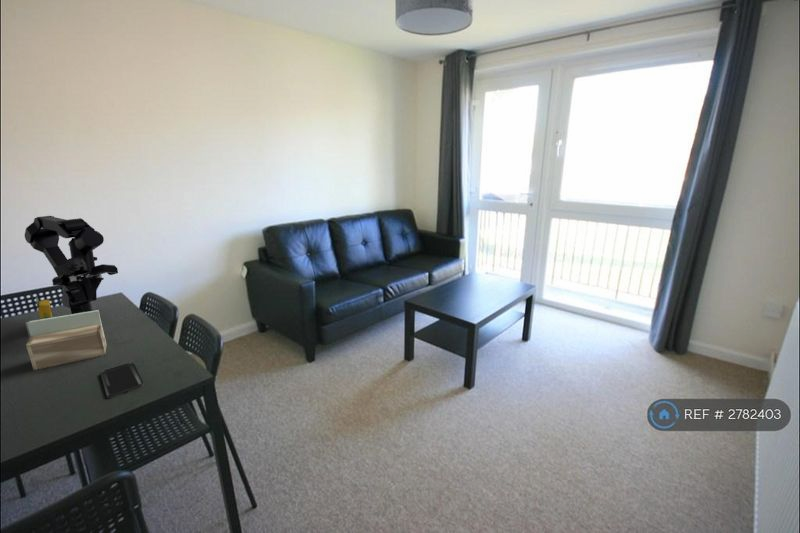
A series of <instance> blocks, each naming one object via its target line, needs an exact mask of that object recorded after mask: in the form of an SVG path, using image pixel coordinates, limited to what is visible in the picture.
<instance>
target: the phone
mask: <svg viewBox="0 0 800 533" xmlns="http://www.w3.org/2000/svg"><path fill="white" fill-rule="evenodd" d="M99 373H100V378H101V382H102V385H103V388H104V391H105V394H106V397H107V399H113V398H116V397H119V396H122V395H125V394H127V393H132V392H133V391H137V390H139V389H142V388H144V381H143V380H142V377H141V375H140V373H139V371H138V368H137V366H136V365H135V363H134V362H128V363H124V364H122V365H121V364H120V365H118V366H115V367H111V368H108V369H105V370H102V371H101V372H99Z"/></svg>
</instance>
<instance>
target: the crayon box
mask: <svg viewBox="0 0 800 533" xmlns="http://www.w3.org/2000/svg"><path fill="white" fill-rule="evenodd" d="M35 304H36V308H37V310H38V314H39V320H40V319H46V318H52V317H54V313H53V308H52V306H51V302H50V299H43V300H39V298H38V296H36V298H35Z"/></svg>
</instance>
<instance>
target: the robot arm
mask: <svg viewBox="0 0 800 533" xmlns="http://www.w3.org/2000/svg"><path fill="white" fill-rule="evenodd" d="M60 237H61V238H63V239H70V241H68V247H69V251H70V258H67V256H66V255H65V254H64V252H63V251H62V249H61V248H60V246H59V241H60ZM24 239H25V241H26V243H27V244H30V246H31V247H32V248H33V249H34V250H36V251H38V252H40V253H43V254H44V256H45V258H46V259H47V260H48V262H49V263H50V265H51V266H52V268H53V270H54V272H55V274H56V275H57V276H55V277H53V278H52V279H51V280H52V281H51V282H52V286H54V287H55V286H56V287H63V288H62V296H61V299H60V302H61V305H62V306H64V307H66V308H69V309H70V315H71V314H77V313H83V312H89V311H94V309H93V307H92V302H94V301H97V298H98V297H97V296H98V295H97V291H98V288H99V287H100V285H101V283H102V281H104V277H103V276H102V275H103V274H108V275H109V276H113V275H117V274H118V273H119V272H118V271H119V270H118V267H116V265H114V264H104V263H103V264H99V265H96V264H95V261H98V257H96V256H94V250H95V249H97V248H98V247H100V246H102V244H104V241H105V240H104V239H105V238H104V236H103V234H101V233H100V232H99V231H97V230H96V229H95V228H93V227H92V226H91V225H90V224H89V223H88V222H87V221H85V220H84V219H83V218H70V219H64V218H60V217H55V216H54V215H46V216H37V217H34V219H33V222H32V223H30V224H29V225H28V226H27V227H26V228H25V231H24Z"/></svg>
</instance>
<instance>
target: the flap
mask: <svg viewBox="0 0 800 533" xmlns="http://www.w3.org/2000/svg"><path fill="white" fill-rule="evenodd" d="M24 324H25V327H26V330H27V334H28V337H29V339H30V337H32V336H38V335H43V334H48V333H54V332H59V331H65V330H70V329H76V328H81V327H86V326H92V325H97V324H101V325H102V330H103V334H104V338H105V342H106V343H107V341H106V336H105V332H104V328H103V324H102V320H101V315H100V311H99V309H97V310H93V311H89V312H83V313H77V314H71V313H70V314H65V315H59V316H53V317H52V318H46V319H40V318H39V319H34V320H29V321H25V322H24Z"/></svg>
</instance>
